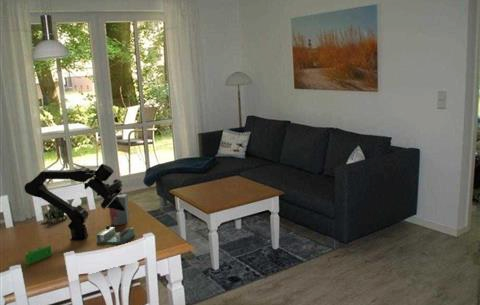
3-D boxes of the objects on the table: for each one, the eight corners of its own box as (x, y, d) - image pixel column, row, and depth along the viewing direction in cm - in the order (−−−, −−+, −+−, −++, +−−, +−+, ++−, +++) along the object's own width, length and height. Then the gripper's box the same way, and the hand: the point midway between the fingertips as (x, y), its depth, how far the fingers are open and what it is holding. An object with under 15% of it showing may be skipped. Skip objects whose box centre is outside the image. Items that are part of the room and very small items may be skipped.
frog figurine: (31, 225, 232) (27, 205, 230) (56, 214, 249) (53, 195, 246) (55, 227, 226) (52, 207, 223) (79, 216, 242) (77, 196, 240)
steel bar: (118, 223, 204) (115, 197, 202) (120, 220, 209) (117, 194, 207) (127, 223, 204) (124, 197, 202) (129, 219, 209) (127, 194, 207)
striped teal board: (97, 243, 200) (95, 232, 199) (109, 234, 210) (108, 223, 209) (123, 244, 196) (122, 233, 195) (134, 235, 207) (133, 224, 205)
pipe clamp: (47, 254, 192) (46, 244, 191) (52, 255, 189) (50, 246, 189) (23, 263, 183) (21, 253, 182) (27, 265, 180) (26, 255, 180)
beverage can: (126, 219, 230) (123, 198, 228) (127, 224, 223) (124, 202, 220) (111, 222, 228) (108, 200, 225) (111, 226, 220) (108, 204, 218)
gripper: (104, 180, 193) (131, 202, 195) (116, 171, 211) (140, 191, 214) (89, 198, 195) (116, 219, 197) (102, 187, 213) (126, 207, 215)
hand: (125, 208), depth 206 cm, fingers closed on steel bar, 5 cm apart
